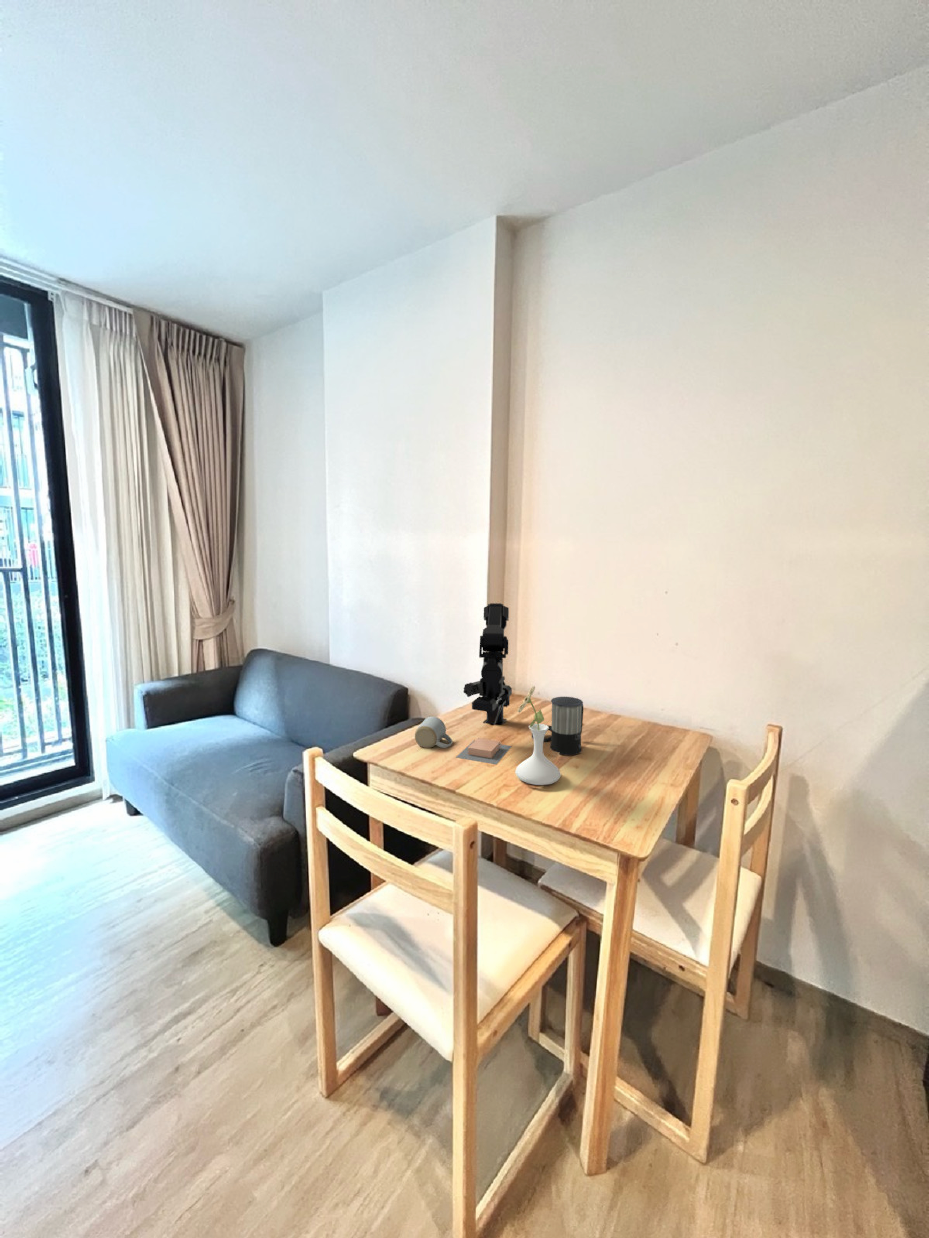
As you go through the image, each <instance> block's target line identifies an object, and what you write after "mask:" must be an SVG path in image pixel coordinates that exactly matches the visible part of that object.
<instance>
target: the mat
mask: <svg viewBox="0 0 929 1238" xmlns="http://www.w3.org/2000/svg"><path fill="white" fill-rule="evenodd" d="M475 740H476V739H474V740H473V741H472V742H470V743H469V745H468V746H466V747H465V748H464V749H463V750H462V751H461V752H459V754H458V755H456V757H455V758H456V759H461V760H468V761H474V762H478V763H479V762H480V763H485V764H491V765H498V764H499V763H500V761H501V760H502V759H503V757H504V756H505V755H506V754H507V753H508V751H509V750H510V749H511V748H513V747H512V746H513V745H507V744H501V748H500V749H499V750H498V751H497V752H496V753H495V755H494V756H493V757H492V758H487V757H481V756H475V755H469V754H468V747H469V746H470V745H471V744H472V743H473V742H474V741H475Z"/></svg>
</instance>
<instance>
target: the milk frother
mask: <svg viewBox="0 0 929 1238" xmlns="http://www.w3.org/2000/svg"><path fill="white" fill-rule="evenodd" d="M550 702H551V725H547V724H546V725H547V726H548V727H549V729H548V730H547V731H550V732H551V735H550V736H548V737H546V738H545V737H544V740H543V743H548V742H550V746H549V749H550V750H552V751H553V752H554V753H555V752H556V753H558V754H559V755H561V756H575V755H578V754H580V753H581V752H582V751H583V748H582V733H583V723H584V722H583V721H584V702H583V700H582V699H581V698H578V697H573V696H556V697H553V698H552V699H551V700H550ZM531 738H532V739H533V740H534V738H533V734H532V733H531Z"/></svg>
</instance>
